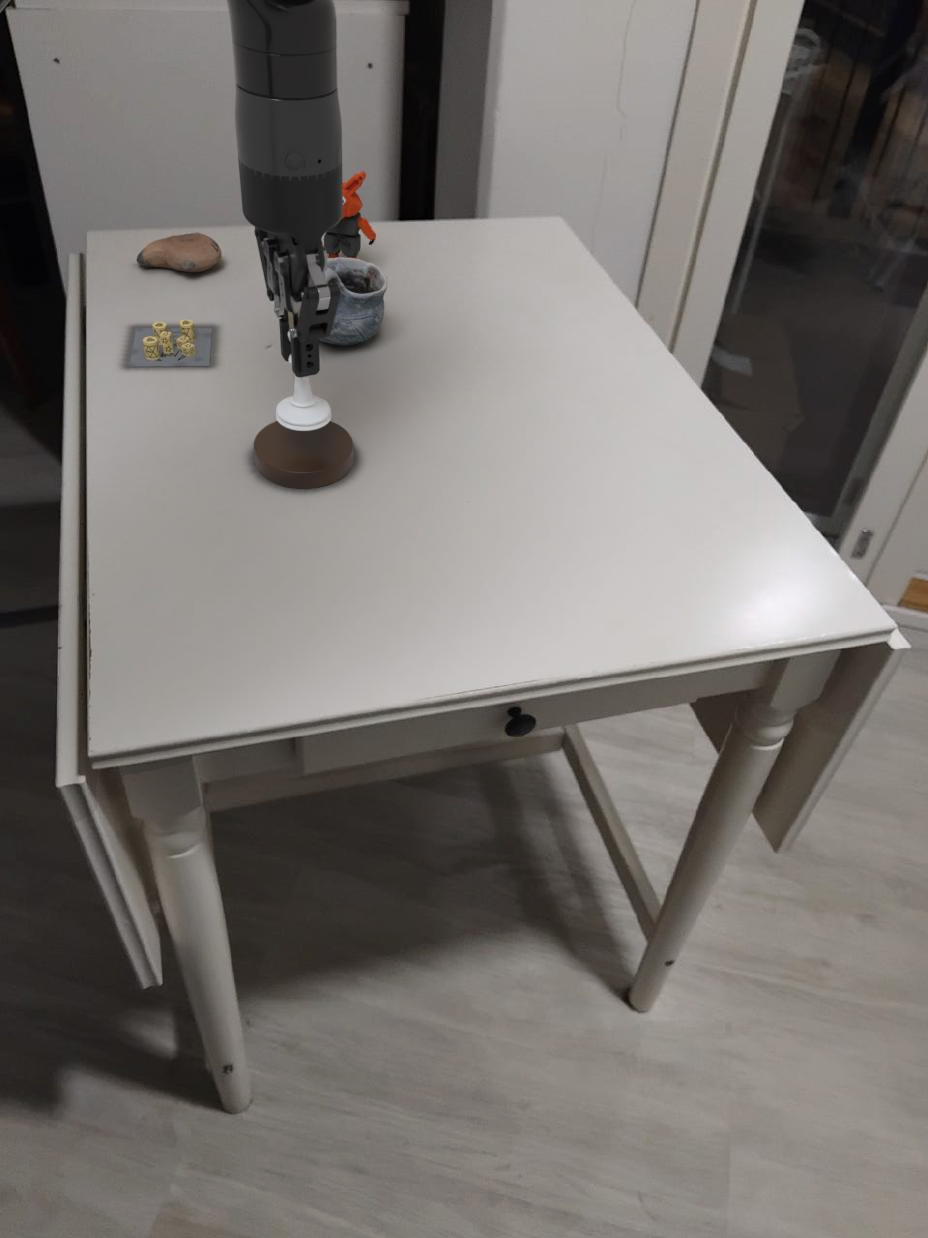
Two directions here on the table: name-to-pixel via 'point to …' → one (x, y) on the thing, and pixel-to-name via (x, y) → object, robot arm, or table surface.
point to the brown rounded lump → (182, 252)
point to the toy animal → (349, 223)
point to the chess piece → (303, 407)
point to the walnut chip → (303, 455)
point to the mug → (356, 300)
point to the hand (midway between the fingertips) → (300, 365)
